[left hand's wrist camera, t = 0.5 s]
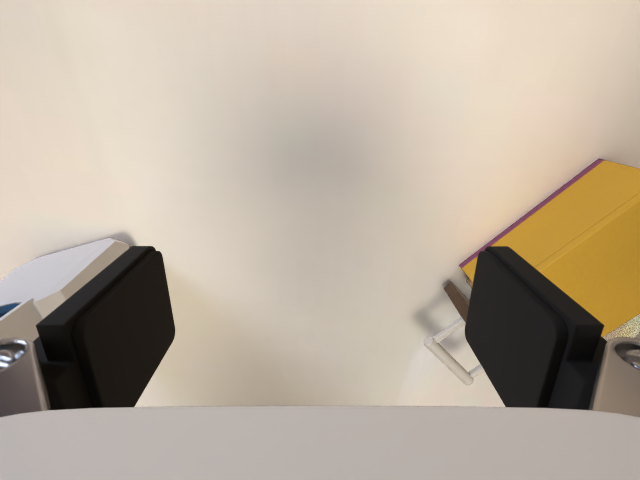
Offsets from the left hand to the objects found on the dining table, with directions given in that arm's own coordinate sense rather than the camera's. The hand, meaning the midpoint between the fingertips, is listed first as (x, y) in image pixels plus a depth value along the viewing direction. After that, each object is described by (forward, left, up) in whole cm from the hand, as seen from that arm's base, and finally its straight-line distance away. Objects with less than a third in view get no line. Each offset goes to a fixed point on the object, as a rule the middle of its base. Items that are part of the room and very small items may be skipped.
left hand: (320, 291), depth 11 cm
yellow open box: (-10, -27, -30) cm, 42 cm away
